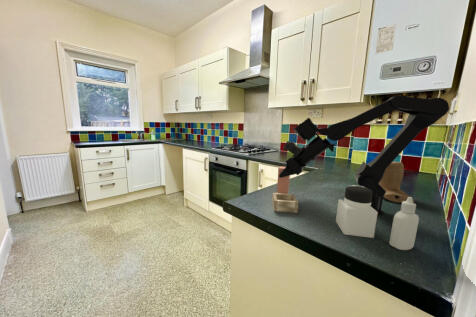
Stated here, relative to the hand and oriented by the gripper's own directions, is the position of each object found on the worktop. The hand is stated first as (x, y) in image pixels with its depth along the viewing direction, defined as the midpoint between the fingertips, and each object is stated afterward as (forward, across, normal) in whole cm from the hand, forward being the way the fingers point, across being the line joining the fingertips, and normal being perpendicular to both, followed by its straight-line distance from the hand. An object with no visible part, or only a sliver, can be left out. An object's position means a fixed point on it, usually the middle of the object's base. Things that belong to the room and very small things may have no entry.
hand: (280, 175), depth 76 cm
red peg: (+4, 0, +6) cm, 7 cm away
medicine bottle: (-11, +18, +23) cm, 31 cm away
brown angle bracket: (-23, -19, +35) cm, 46 cm away
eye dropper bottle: (-18, +21, +30) cm, 40 cm away
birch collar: (+3, +12, +8) cm, 15 cm away
